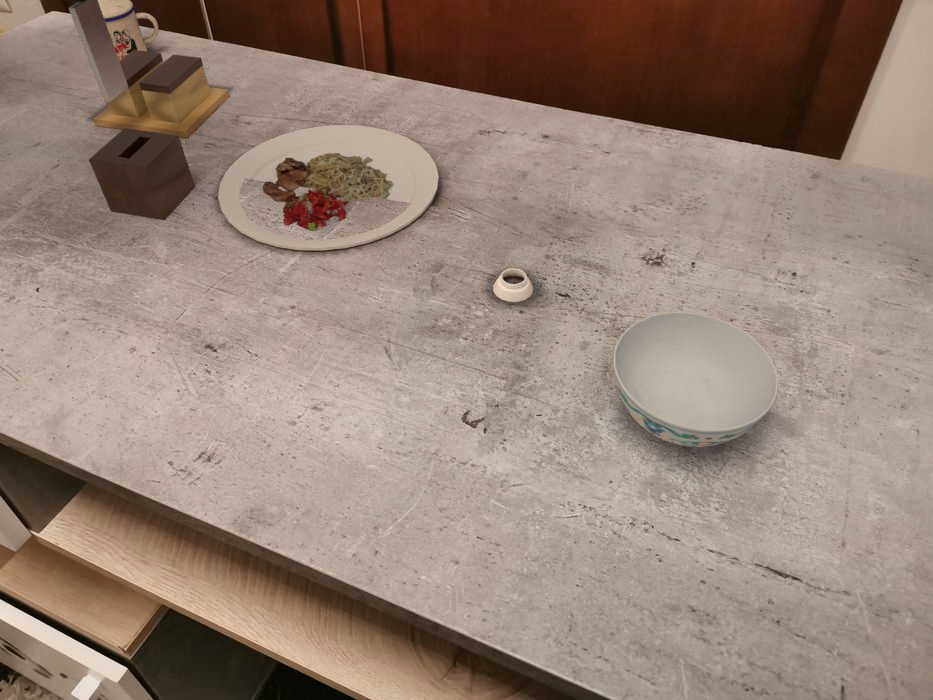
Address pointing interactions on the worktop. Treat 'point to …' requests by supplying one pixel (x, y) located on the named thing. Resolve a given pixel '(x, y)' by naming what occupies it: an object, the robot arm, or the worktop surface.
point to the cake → (162, 95)
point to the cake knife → (98, 47)
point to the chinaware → (693, 378)
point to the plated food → (331, 181)
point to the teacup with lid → (125, 26)
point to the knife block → (143, 173)
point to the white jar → (513, 286)
